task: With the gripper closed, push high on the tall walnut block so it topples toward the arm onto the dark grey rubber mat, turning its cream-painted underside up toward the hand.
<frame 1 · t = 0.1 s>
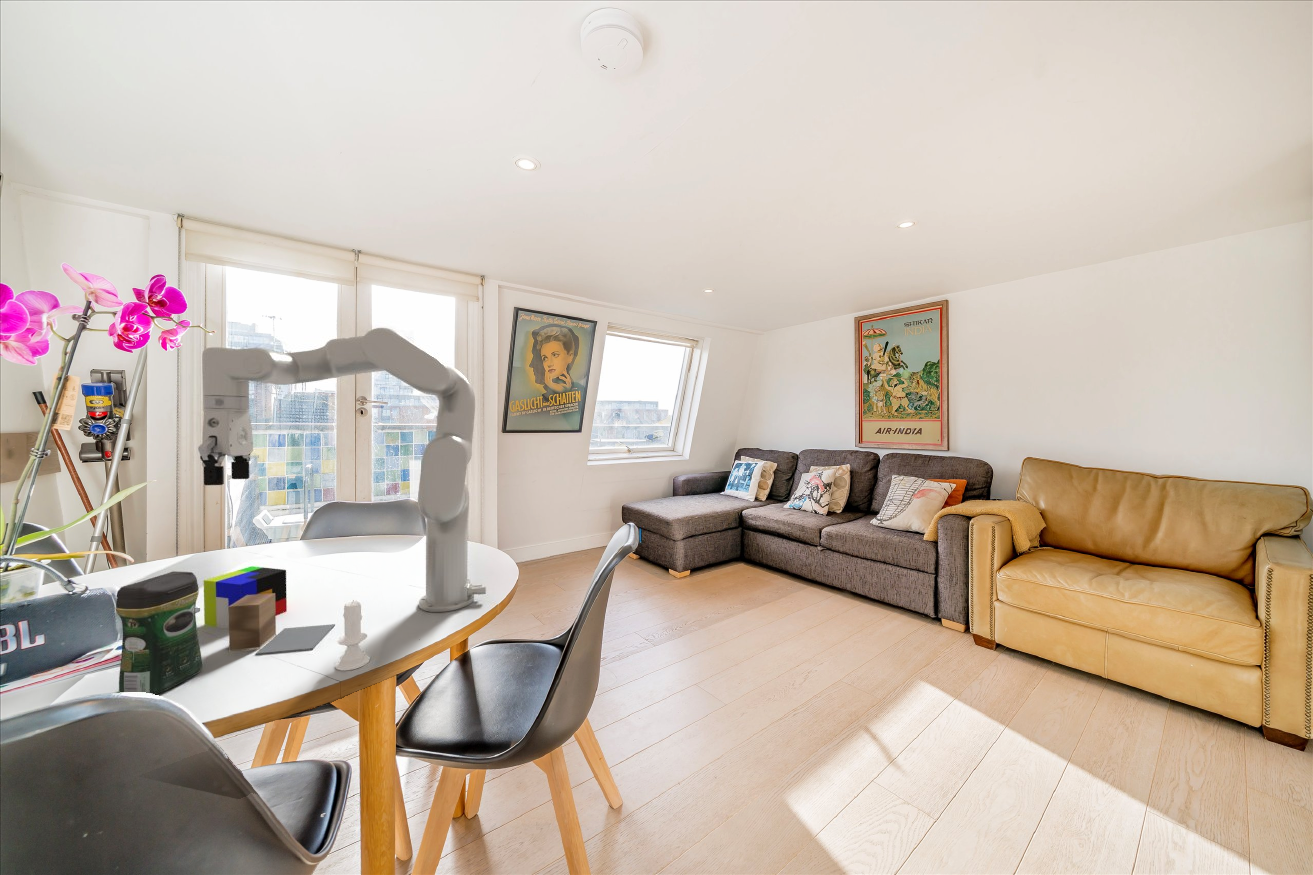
hand: (227, 481, 104), 31 cm above the table, tool pointing down, fingers open, 9 cm apart
mat: (298, 639, 97), on the table
block: (253, 643, 95), on the table
puzzle toy: (247, 619, 106), on the table
coffee jar: (161, 684, 80), on the table
candle: (352, 664, 88), on the table
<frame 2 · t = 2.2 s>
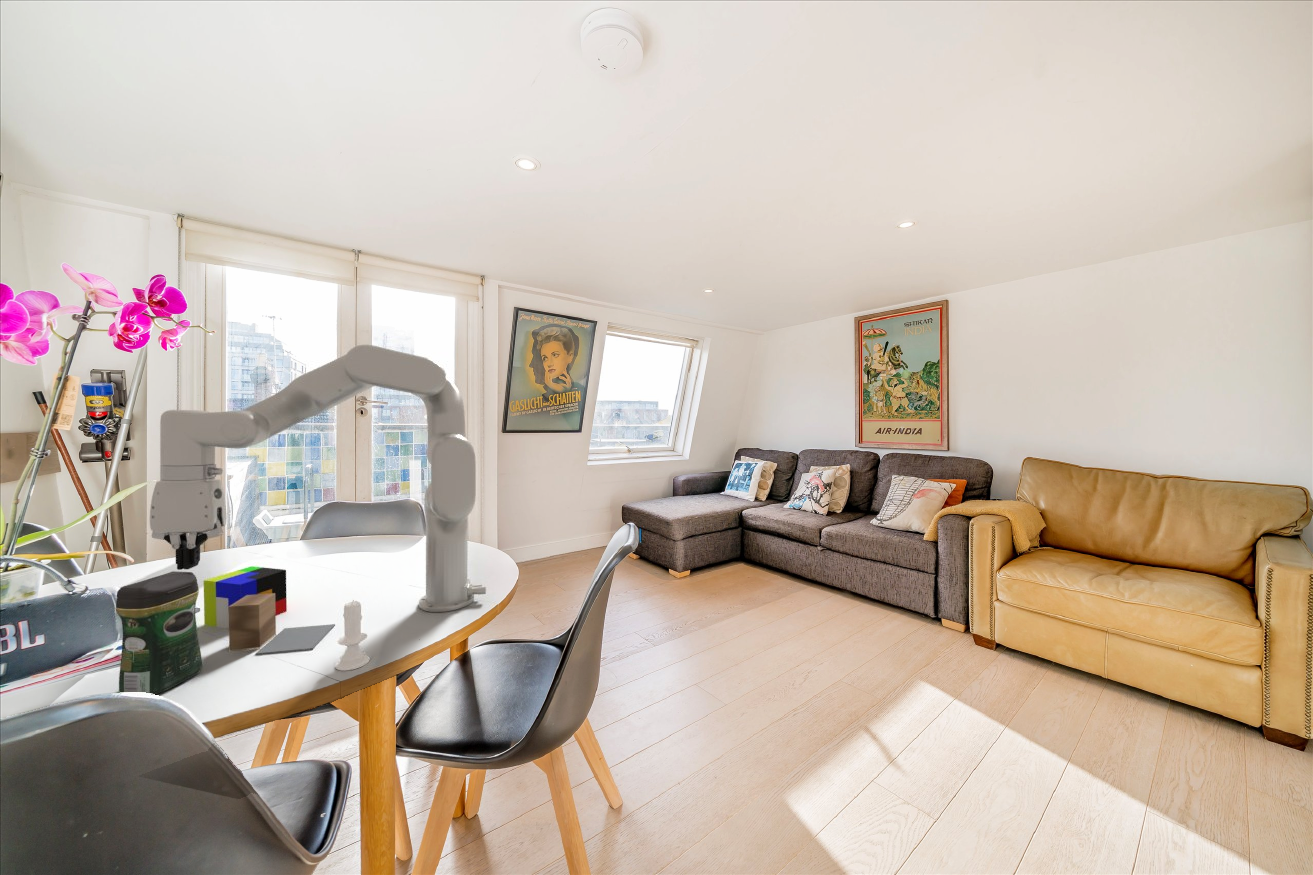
hand: (187, 567, 91), 16 cm above the table, tool pointing down, fingers closed
nothing on the table moved.
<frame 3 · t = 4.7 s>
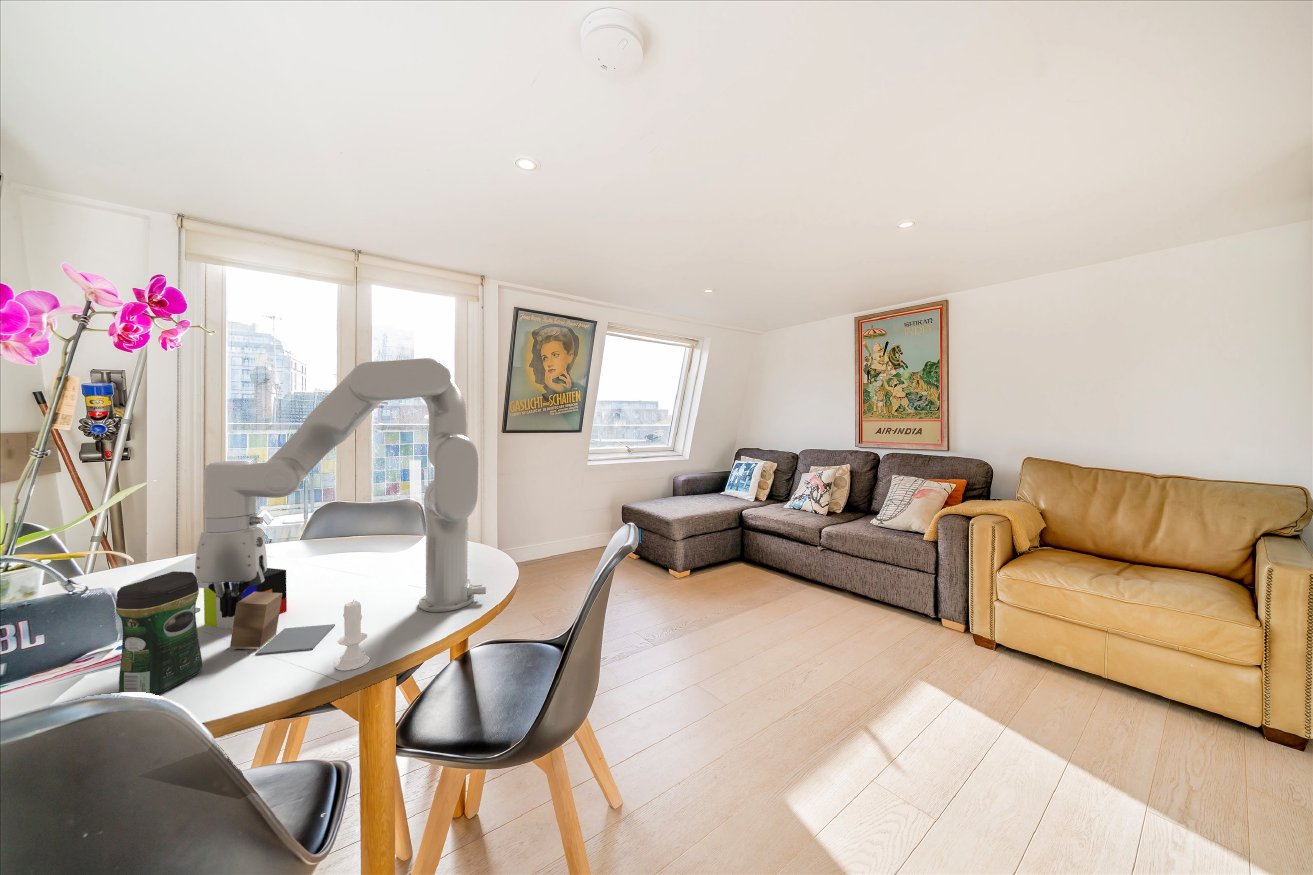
hand: (231, 614, 93), 6 cm above the table, tool pointing down, fingers closed
block: (253, 641, 95), on the table, tilted 8°
everything else where it was.
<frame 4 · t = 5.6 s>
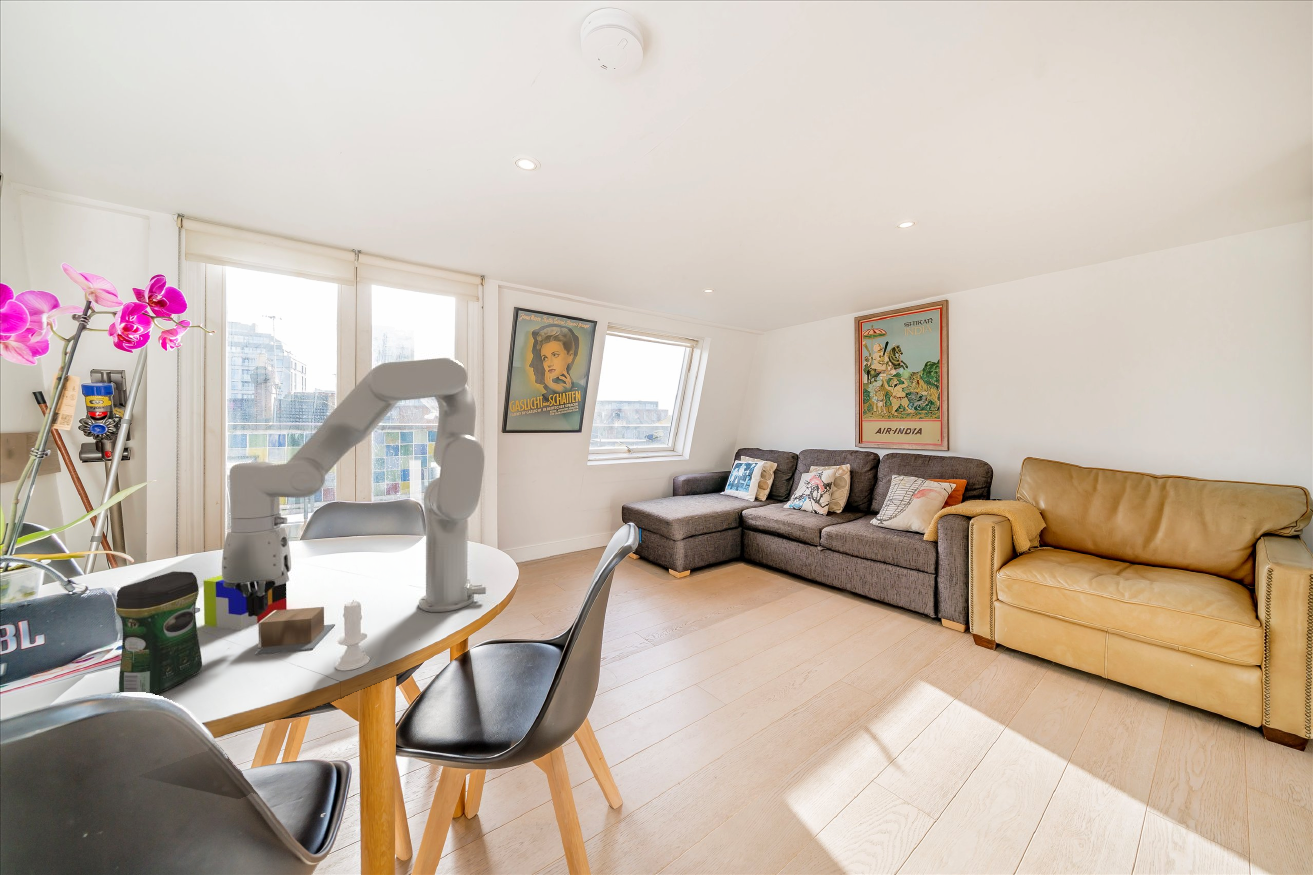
hand: (257, 613, 95), 6 cm above the table, tool pointing down, fingers closed
block: (266, 628, 95), point 3 cm above the table, tilted 90°, touching mat
everything else where it was.
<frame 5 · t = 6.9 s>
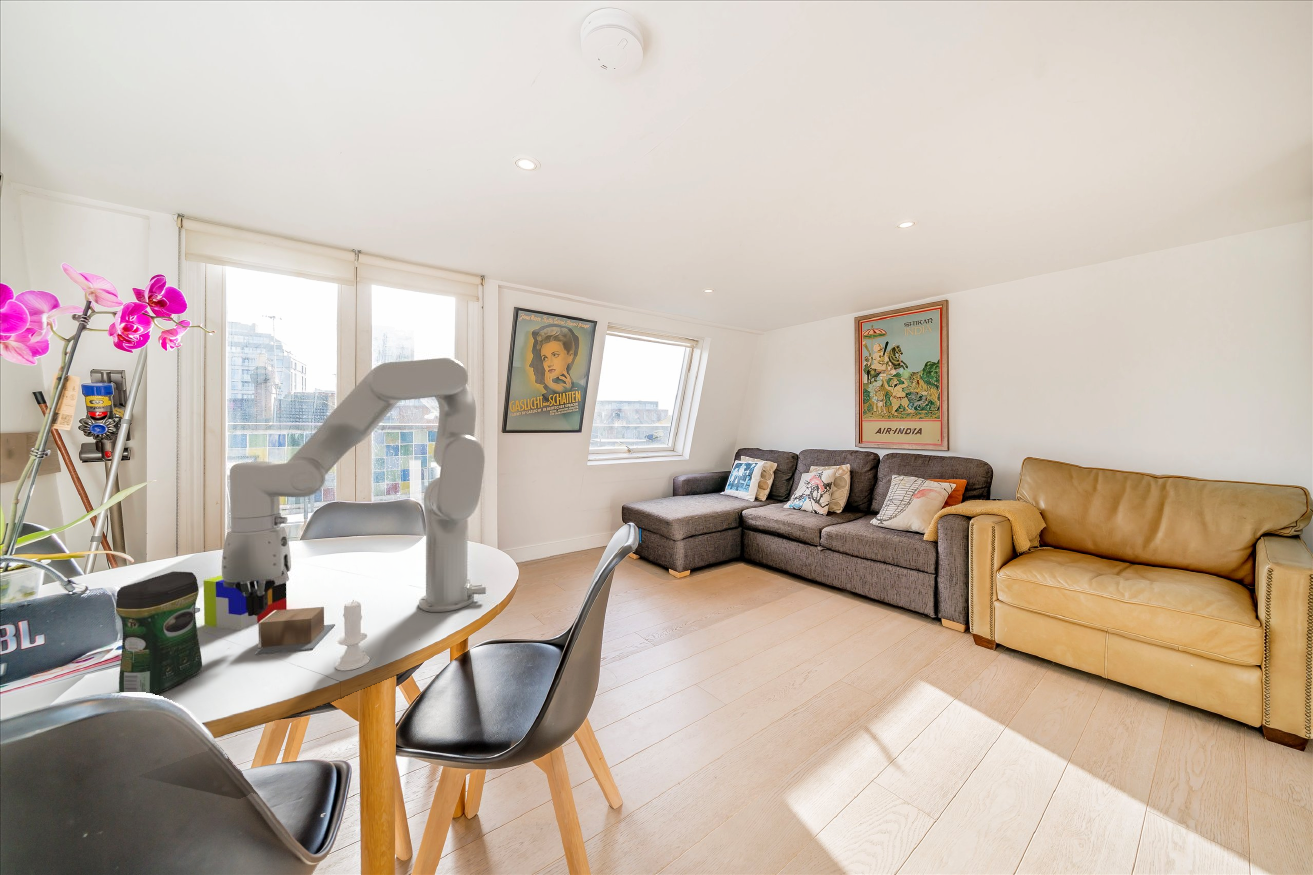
hand: (257, 613, 95), 6 cm above the table, tool pointing down, fingers closed
nothing on the table moved.
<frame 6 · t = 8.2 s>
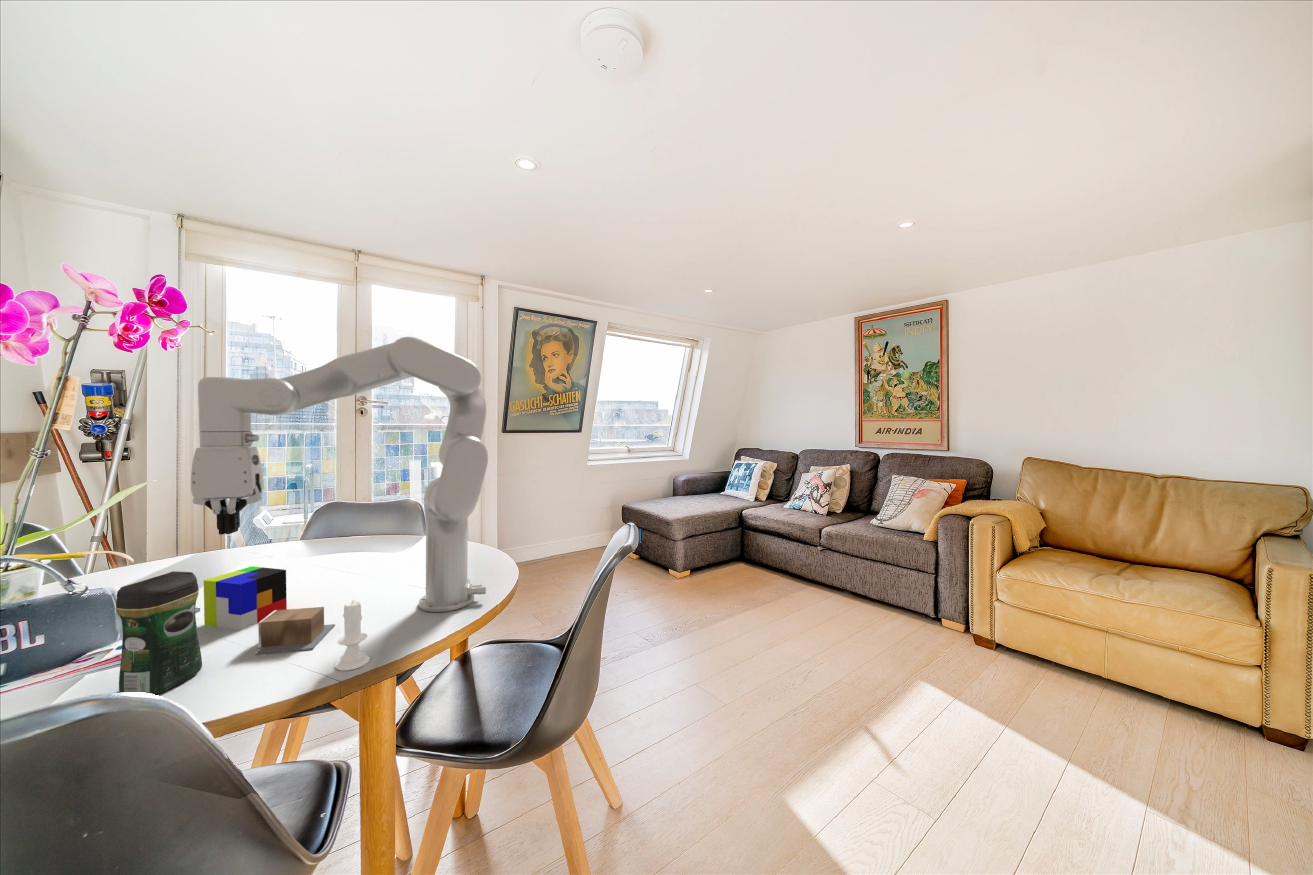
hand: (228, 532, 93), 23 cm above the table, tool pointing down, fingers closed
nothing on the table moved.
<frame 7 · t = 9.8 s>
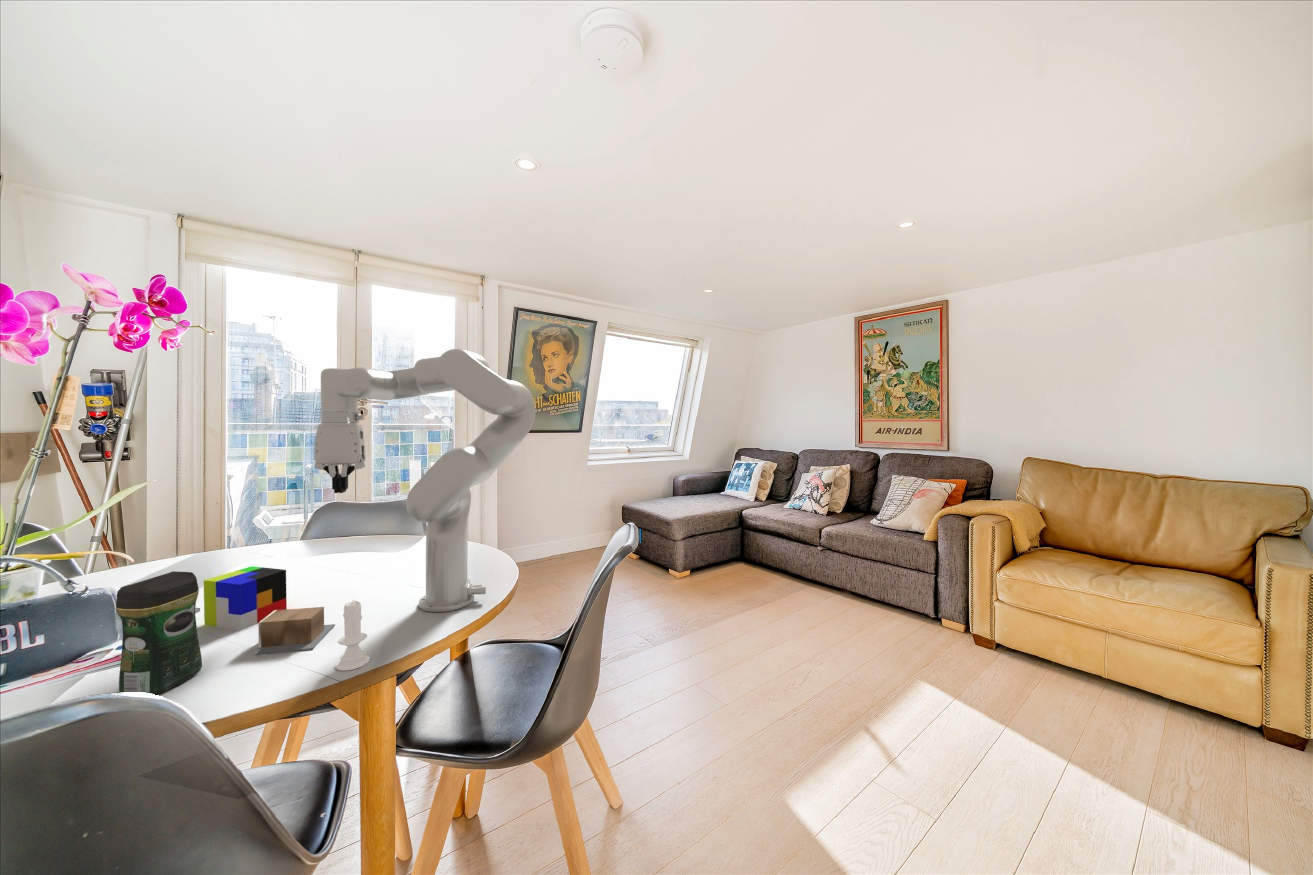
hand: (340, 492, 117), 27 cm above the table, tool pointing down, fingers closed
nothing on the table moved.
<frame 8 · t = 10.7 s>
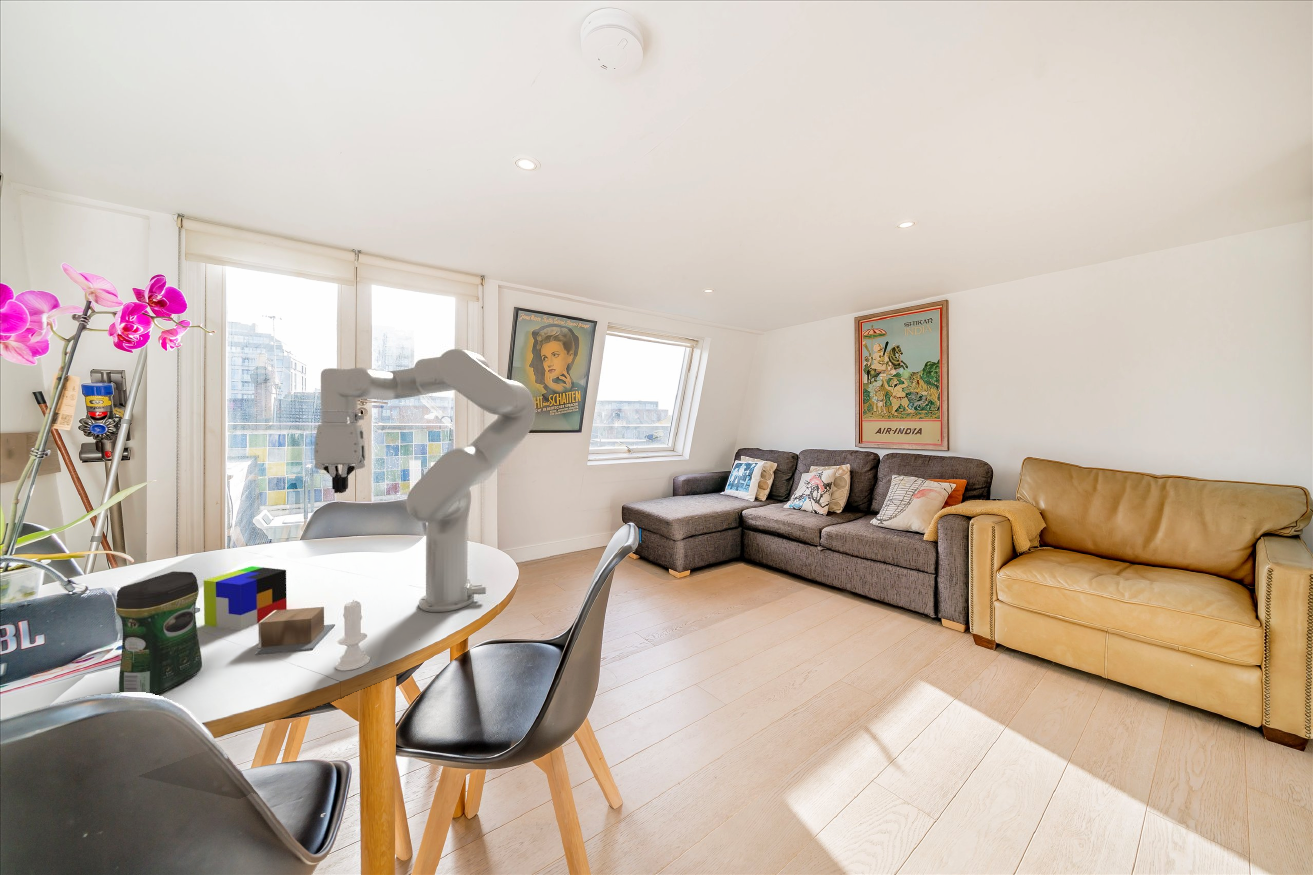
hand: (340, 492, 117), 27 cm above the table, tool pointing down, fingers closed
nothing on the table moved.
at the end: block tilted 90°; block inside the target area (4.4 cm from its centre), point 2.8 cm above the table; block moved 3.6 cm from its start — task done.
